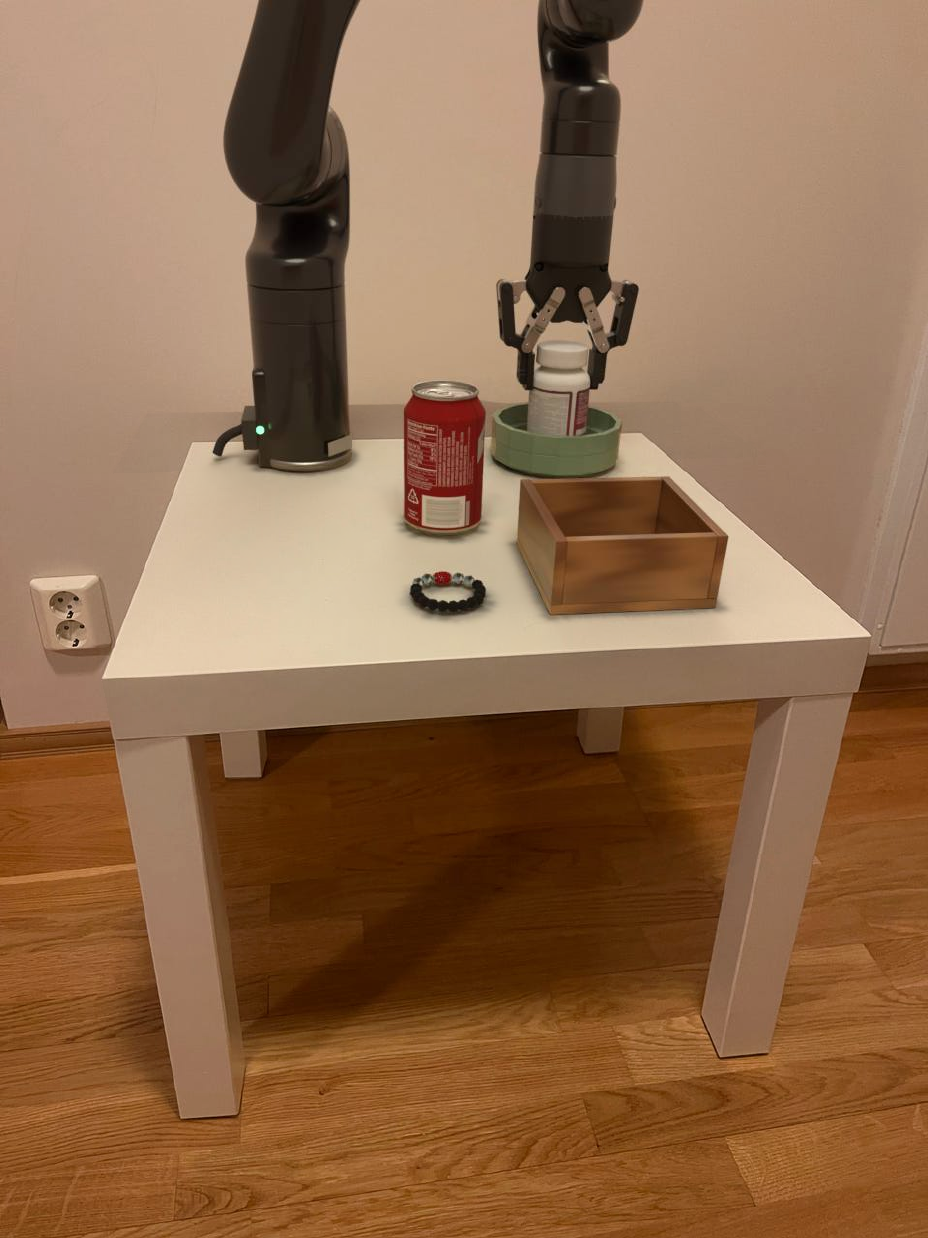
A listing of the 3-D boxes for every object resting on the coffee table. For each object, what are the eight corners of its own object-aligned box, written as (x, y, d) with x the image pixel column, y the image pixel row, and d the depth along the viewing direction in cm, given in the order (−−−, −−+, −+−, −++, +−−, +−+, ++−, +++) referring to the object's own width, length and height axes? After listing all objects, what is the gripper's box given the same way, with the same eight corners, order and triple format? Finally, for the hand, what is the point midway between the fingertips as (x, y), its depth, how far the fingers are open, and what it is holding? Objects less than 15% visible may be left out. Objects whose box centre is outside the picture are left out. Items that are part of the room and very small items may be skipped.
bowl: (504, 482, 90) (506, 438, 88) (482, 441, 101) (484, 401, 99) (632, 479, 92) (637, 436, 89) (597, 439, 103) (601, 400, 101)
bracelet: (479, 578, 70) (479, 567, 70) (492, 613, 65) (493, 601, 65) (405, 582, 69) (405, 570, 69) (414, 617, 64) (414, 604, 64)
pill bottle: (567, 443, 100) (576, 337, 94) (593, 460, 95) (604, 350, 89) (516, 447, 98) (522, 339, 92) (539, 466, 93) (547, 353, 87)
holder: (550, 615, 65) (556, 541, 63) (516, 544, 76) (520, 478, 74) (716, 608, 67) (729, 535, 64) (660, 540, 78) (669, 475, 75)
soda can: (472, 544, 76) (478, 402, 70) (395, 535, 77) (394, 395, 72) (487, 514, 82) (493, 381, 76) (414, 507, 83) (415, 375, 77)
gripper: (635, 207, 89) (616, 379, 97) (491, 204, 87) (484, 379, 95) (660, 213, 82) (638, 397, 90) (505, 210, 80) (496, 398, 88)
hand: (559, 387), depth 93 cm, fingers closed on pill bottle, 6 cm apart
